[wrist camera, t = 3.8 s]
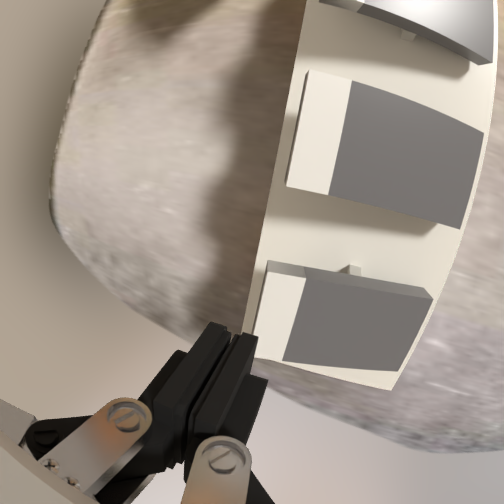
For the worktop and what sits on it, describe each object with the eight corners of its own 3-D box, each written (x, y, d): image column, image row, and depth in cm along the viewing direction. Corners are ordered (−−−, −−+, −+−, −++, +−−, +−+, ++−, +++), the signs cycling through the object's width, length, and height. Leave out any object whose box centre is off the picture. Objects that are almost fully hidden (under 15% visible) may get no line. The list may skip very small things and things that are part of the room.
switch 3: (423, 287, 14) (433, 299, 13) (391, 357, 16) (397, 371, 15) (267, 259, 14) (267, 271, 13) (249, 340, 16) (248, 356, 15)
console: (465, 7, 13) (502, -36, 6) (385, 338, 23) (391, 404, 16) (326, -32, 15) (313, -90, 8) (259, 303, 25) (227, 359, 18)
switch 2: (469, 131, 11) (484, 133, 10) (447, 221, 13) (460, 229, 12) (305, 74, 11) (309, 69, 10) (284, 180, 13) (286, 186, 12)
